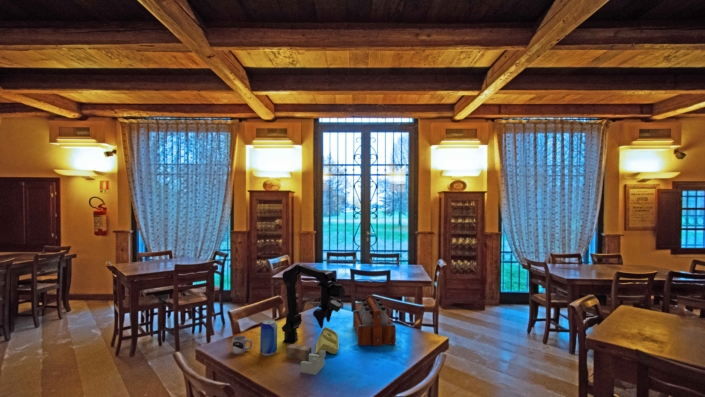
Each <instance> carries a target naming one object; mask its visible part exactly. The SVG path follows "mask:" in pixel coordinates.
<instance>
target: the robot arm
mask: <svg viewBox="0 0 705 397" xmlns="http://www.w3.org/2000/svg"><path fill="white" fill-rule="evenodd" d="M300 274H303V275H307V276H309V277H312V278H315V279H316V280H317V281H318V282H319V283H318V284H317V285H316V286H317V287H320V294H319V297H318V300H320V301H319V304H318V308H315V309H314V310H313V311H312V316H313V317H314V318H315V320H316V322H317V323H318V326H319V328H320V329H323V328H324V324H325V323H324V322H325V318H326V323H330V320H331V317H332V314H333V312H335V313H338V312H339V311H340V310H341V308H342V306H343V303H342V299H343V298H344V297H345V293H346V290H345V287H344V285H343V284H339V283H338V281H337V279H336V278H335V276H334V274H333V271H331V270H328V269H317V268H314V267H311V266H308V265H306V264H304V263H298V264H295V265H294V266H293V267H291V268H289V269H287V270H284V271H283V273H282V280H283V281H282V282H283V284H284V285H285V287H286V297H287V298H286V299H287V315H286V317H285V323H284V325H283V326H282V327H281V330H282V332H283V333H284V335H283V336H284V338H283V340H282V342H283V343H287V344H294V343H295V342H297V341H298V340H299V338H298V329H299V328H300V326H301V324H302V322H303V320H302V313H300V312H298V304H297V292H296V290H297V288H296V285H297V282H298V279H299V277H298V276H299V275H300ZM334 298H337V300H334Z"/></svg>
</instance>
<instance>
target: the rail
mask: <svg viewBox="0 0 705 397" xmlns="http://www.w3.org/2000/svg"><path fill="white" fill-rule="evenodd" d="M285 351H286V352H285V354H286V356H285V357H286V358H288V357H289V358H288V359H294V360H299V361H307V362H309V354H310V353H311V354H312V347H310V346H307V345H306V346H304V345H300V344H294V343H293V344H292V343H289V344H288V345H287V346H286V347H285Z"/></svg>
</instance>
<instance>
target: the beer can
mask: <svg viewBox="0 0 705 397" xmlns="http://www.w3.org/2000/svg"><path fill="white" fill-rule="evenodd" d="M259 336H260V338H259V339H260V340H259V341H260V342H259V343H260V344H259V347H260V348H259V349H260V351H259V352H260V353H261V355H262V356H266V357H270V356H273V355H275V354H276V352H277V350H278V323H277V321H276V320H275V319H271V318H269V319H264V320H263V321H262V323H261V325H260V335H259Z"/></svg>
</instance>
